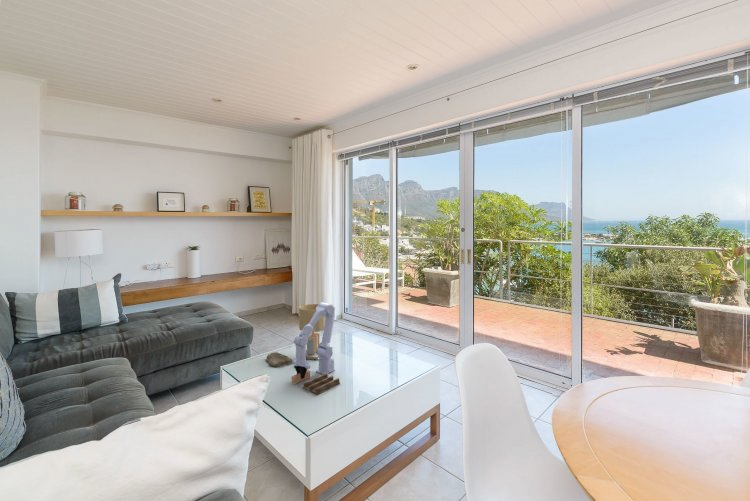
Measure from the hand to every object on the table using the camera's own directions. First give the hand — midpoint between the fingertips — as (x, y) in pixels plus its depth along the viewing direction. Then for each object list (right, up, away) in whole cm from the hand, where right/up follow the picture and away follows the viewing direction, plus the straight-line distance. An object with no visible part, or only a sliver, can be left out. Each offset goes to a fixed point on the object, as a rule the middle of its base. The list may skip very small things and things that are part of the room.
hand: (301, 377), depth 211 cm
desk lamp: (0, +1, +40) cm, 40 cm away
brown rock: (-22, 0, +29) cm, 36 cm away
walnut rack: (+13, -3, -7) cm, 15 cm away
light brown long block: (0, -2, 0) cm, 2 cm away
